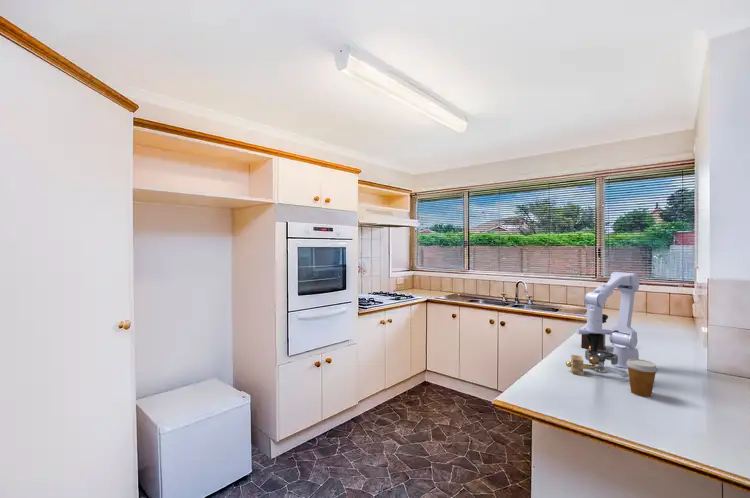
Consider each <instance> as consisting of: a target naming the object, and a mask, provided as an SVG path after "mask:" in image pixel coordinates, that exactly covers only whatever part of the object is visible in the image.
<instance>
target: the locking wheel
mask: <svg viewBox="0 0 750 498" xmlns="http://www.w3.org/2000/svg"><path fill="white" fill-rule="evenodd" d="M590 356H593V357H598V358H599V361H604V362H606V360H607V361H610V363H611V364H610V365H613V366H614V365H616V364H617V363H618V356H617V355H616V354H614V353H613V352H611V351H606V350H604V351H603V350H597V351H592V350H591V347H590V346H589V349H585V351H584V358H585V359H586V360H587V361H588V362H589V357H590Z"/></svg>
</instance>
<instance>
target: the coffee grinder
mask: <svg viewBox="0 0 750 498" xmlns="http://www.w3.org/2000/svg"><path fill="white" fill-rule="evenodd" d="M608 318H609V315H608V314H605V313H602V324H605V323H607V320H608ZM583 329H585V328H583ZM602 336H603V339H602V340H601V342H600V344H599V346H598V349H597V350H603V351H606V349H607V346H606V334H602ZM580 341H581V342H580V343H581V344H580V345H581V346H580V348H581V349H584V350H589V346H590V344H589V341H588V339H587V337H586V335H585V334H581V340H580Z"/></svg>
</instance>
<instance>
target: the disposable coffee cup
mask: <svg viewBox="0 0 750 498" xmlns="http://www.w3.org/2000/svg"><path fill="white" fill-rule="evenodd" d="M626 364H627V366H628V368H627V371H628V378H629V386H630V393H632V394H634V395H636V396H639V397H645V398H651V397H652V394H653V389H654V384H655V378H656V372H657V371H658V368H659V367H657V364H656V363H655V362H652V361H649V360H646V359H629V360H628V362H627V363H626Z"/></svg>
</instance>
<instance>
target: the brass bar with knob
mask: <svg viewBox="0 0 750 498" xmlns="http://www.w3.org/2000/svg"><path fill="white" fill-rule="evenodd" d="M588 363H589V364H586V363H583V370H591V371H595V367H596V366H598V364H599V358H598V357H593V356H590V357H589V361H588ZM565 366H566V367H567V368H571V367H572V362H571V361H566V362H565Z"/></svg>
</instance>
